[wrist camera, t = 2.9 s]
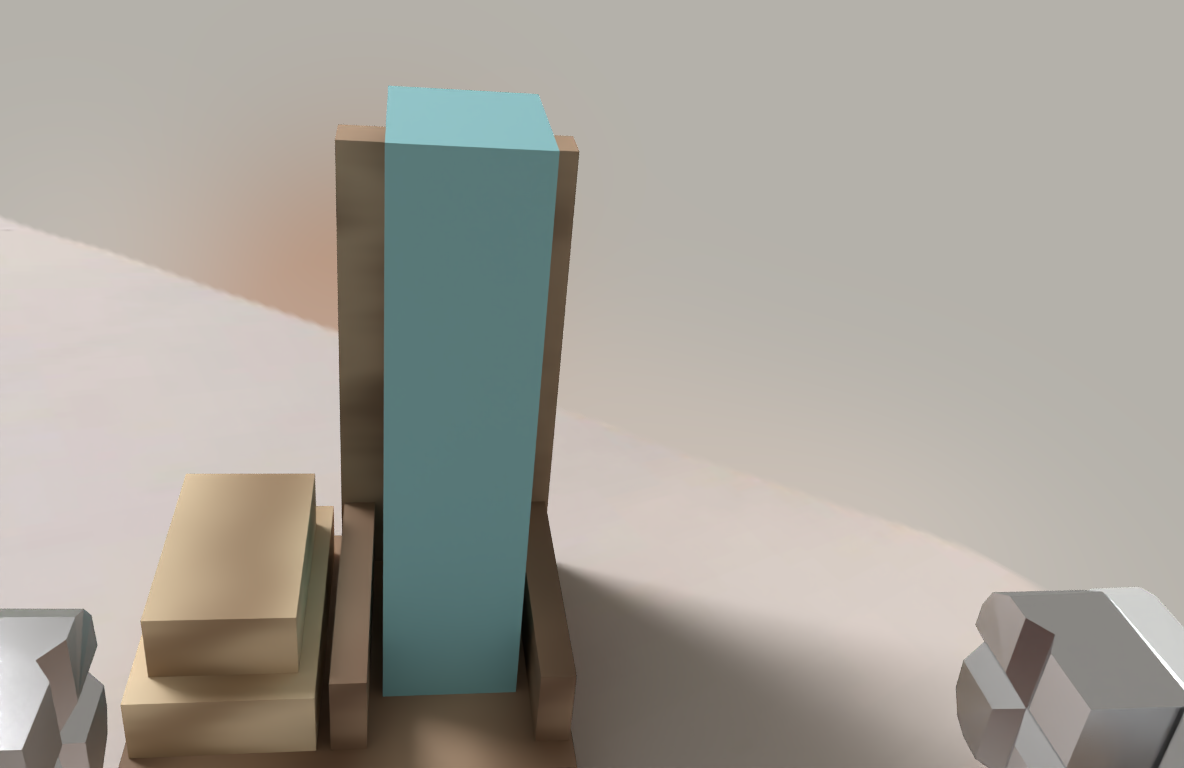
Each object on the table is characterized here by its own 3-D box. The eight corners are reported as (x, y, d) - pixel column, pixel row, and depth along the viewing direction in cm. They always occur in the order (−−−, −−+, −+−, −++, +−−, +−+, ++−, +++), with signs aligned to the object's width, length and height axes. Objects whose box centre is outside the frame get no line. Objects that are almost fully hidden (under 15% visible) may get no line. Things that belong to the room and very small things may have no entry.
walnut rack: (116, 813, 30) (28, 267, 22) (187, 559, 40) (141, 114, 32) (574, 791, 32) (635, 285, 25) (536, 555, 42) (572, 136, 34)
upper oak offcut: (147, 677, 31) (140, 621, 30) (191, 524, 37) (186, 473, 36) (298, 672, 31) (296, 617, 30) (316, 523, 37) (314, 473, 36)
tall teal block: (382, 696, 33) (385, 143, 25) (385, 588, 38) (388, 85, 30) (515, 691, 34) (559, 151, 26) (503, 586, 38) (538, 94, 30)
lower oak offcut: (128, 758, 31) (120, 704, 30) (185, 554, 38) (180, 507, 37) (316, 750, 31) (314, 698, 30) (334, 552, 39) (333, 506, 38)
